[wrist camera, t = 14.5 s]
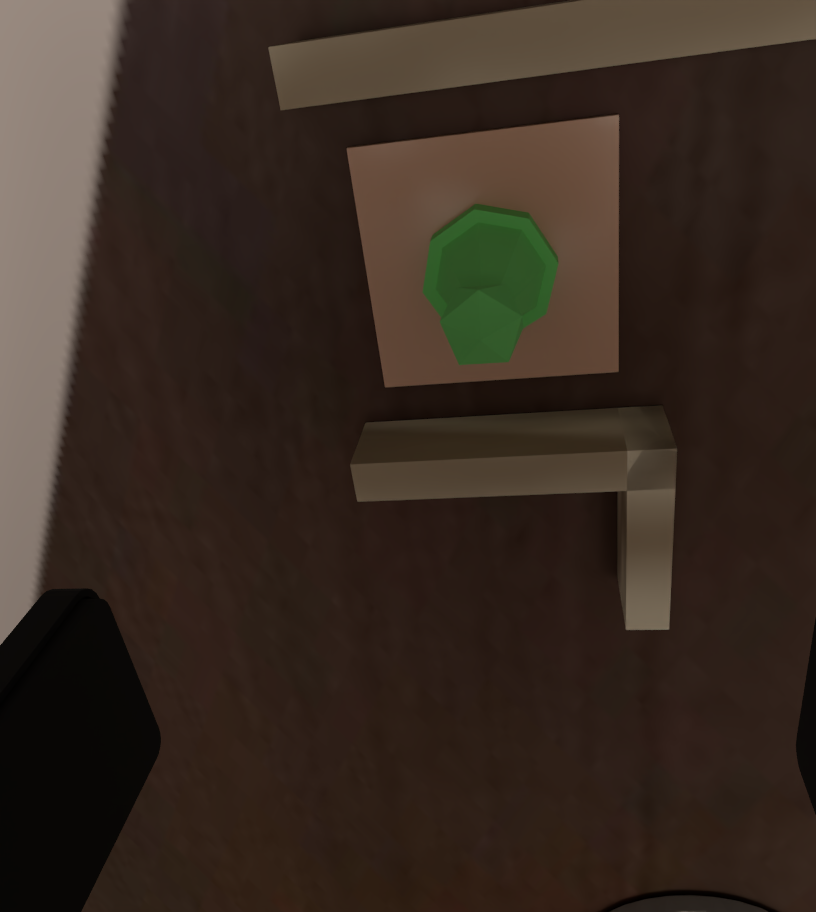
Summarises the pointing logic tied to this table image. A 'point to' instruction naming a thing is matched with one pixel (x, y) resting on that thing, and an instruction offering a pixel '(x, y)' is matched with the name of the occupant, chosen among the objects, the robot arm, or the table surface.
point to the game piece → (489, 281)
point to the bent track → (562, 223)
